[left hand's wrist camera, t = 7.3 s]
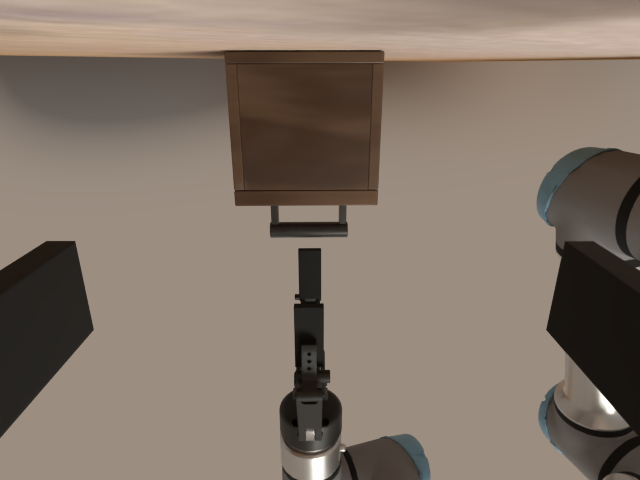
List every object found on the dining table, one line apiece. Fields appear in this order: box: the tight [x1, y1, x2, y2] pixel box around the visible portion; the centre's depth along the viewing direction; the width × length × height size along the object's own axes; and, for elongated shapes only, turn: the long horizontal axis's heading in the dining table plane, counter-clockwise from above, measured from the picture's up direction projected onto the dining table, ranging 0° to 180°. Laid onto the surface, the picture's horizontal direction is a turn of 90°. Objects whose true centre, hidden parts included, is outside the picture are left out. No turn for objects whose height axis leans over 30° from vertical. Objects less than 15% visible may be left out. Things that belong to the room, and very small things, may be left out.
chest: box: [224, 51, 384, 190], centre depth 36 cm, size 15×10×9 cm, turn 179°
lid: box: [234, 189, 378, 238], centre depth 39 cm, size 16×10×8 cm, turn 179°
